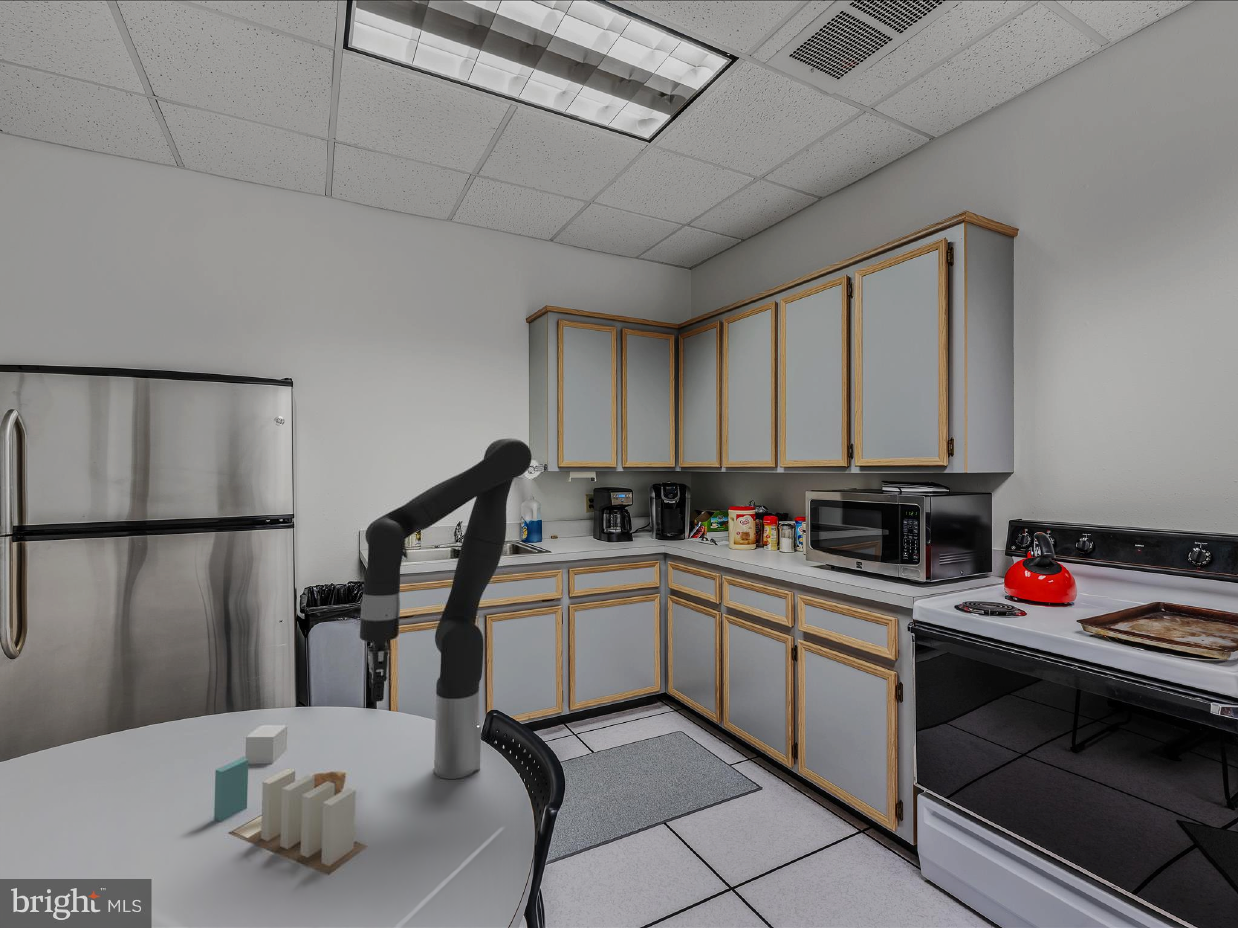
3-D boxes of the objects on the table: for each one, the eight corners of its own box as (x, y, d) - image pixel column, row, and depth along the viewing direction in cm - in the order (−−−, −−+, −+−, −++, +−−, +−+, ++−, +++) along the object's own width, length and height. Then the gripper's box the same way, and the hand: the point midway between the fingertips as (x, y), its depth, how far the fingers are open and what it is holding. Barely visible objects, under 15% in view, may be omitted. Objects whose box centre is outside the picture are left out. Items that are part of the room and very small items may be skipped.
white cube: (286, 750, 137) (287, 725, 137) (272, 763, 131) (273, 736, 131) (260, 750, 136) (261, 725, 136) (245, 763, 130) (245, 736, 130)
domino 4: (321, 862, 97) (323, 802, 97) (346, 845, 102) (347, 787, 102) (329, 865, 97) (330, 805, 97) (353, 848, 101) (355, 790, 101)
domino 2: (280, 845, 101) (282, 788, 101) (306, 829, 106) (307, 774, 106) (287, 848, 100) (289, 790, 101) (313, 832, 105) (314, 776, 105)
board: (228, 837, 104) (228, 832, 104) (270, 813, 112) (270, 808, 112) (328, 879, 94) (328, 873, 94) (367, 850, 102) (367, 845, 102)
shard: (339, 805, 116) (340, 796, 116) (296, 811, 114) (297, 802, 114) (347, 777, 126) (347, 769, 126) (307, 782, 124) (308, 774, 124)
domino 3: (300, 854, 99) (302, 795, 99) (325, 837, 104) (327, 781, 104) (307, 857, 98) (309, 797, 99) (333, 840, 103) (334, 783, 103)
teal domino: (213, 823, 108) (215, 769, 109) (240, 809, 113) (242, 757, 113) (220, 826, 108) (221, 771, 108) (246, 811, 112) (248, 759, 112)
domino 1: (261, 838, 103) (262, 781, 103) (287, 822, 108) (288, 768, 108) (267, 840, 103) (269, 783, 103) (293, 825, 107) (295, 770, 107)
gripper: (403, 621, 117) (398, 703, 116) (396, 607, 130) (392, 681, 129) (362, 623, 114) (357, 708, 113) (359, 609, 126) (355, 685, 126)
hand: (376, 693), depth 121 cm, fingers open, 8 cm apart
